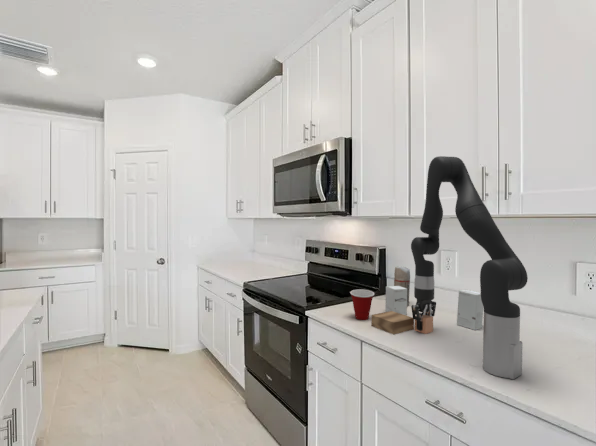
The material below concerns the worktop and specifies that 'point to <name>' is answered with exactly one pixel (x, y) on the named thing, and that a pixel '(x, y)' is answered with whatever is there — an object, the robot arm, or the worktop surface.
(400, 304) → the supplement box
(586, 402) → the worktop surface
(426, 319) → the terracotta block
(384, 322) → the walnut box
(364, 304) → the plastic cup
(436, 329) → the worktop surface
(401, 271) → the spray can
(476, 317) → the skincare box
